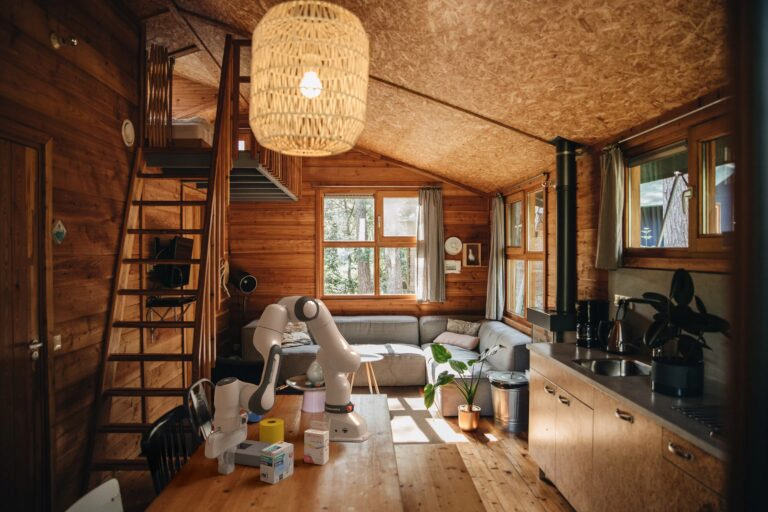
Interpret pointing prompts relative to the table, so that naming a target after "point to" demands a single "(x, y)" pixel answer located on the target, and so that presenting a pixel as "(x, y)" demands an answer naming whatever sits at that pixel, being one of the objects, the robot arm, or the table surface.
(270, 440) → the tape roll
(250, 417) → the blue mole toy
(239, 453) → the socket block
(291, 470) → the light bulb box
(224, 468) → the square peg
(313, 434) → the ink cartridge box
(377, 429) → the table surface
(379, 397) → the table surface
